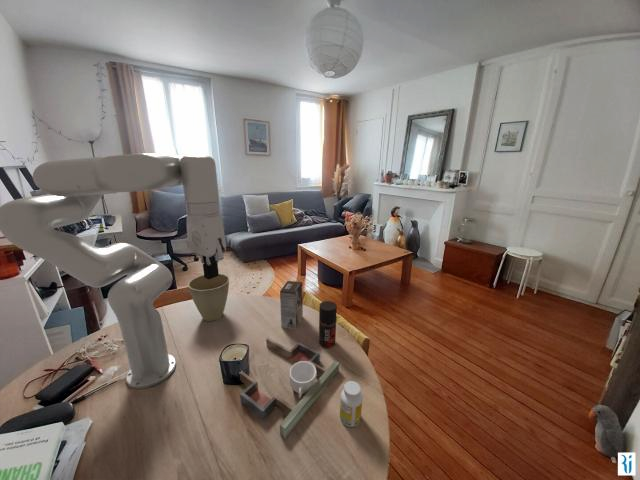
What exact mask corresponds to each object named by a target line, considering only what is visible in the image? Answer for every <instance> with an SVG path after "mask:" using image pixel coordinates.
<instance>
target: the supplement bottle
mask: <svg viewBox="0 0 640 480" xmlns="http://www.w3.org/2000/svg"><path fill="white" fill-rule="evenodd" d="M361 391H362V390H361V385H360V384H359V383H358V382H356V381H355V380H350V381H349V380H348V381H347V382H346V383H344V385H343V389H342V391H341V393H340V402H339V403H340V404H339V405H340V406H339V419H340V422H341V423H342V424H343V425H344V426H347V427H348V428H350V427H351V428H352V427H354V428H355V427H356V426H358V425H359V423H360V422H361V418H362V408H363V394H362V392H361Z"/></svg>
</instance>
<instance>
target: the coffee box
mask: <svg viewBox="0 0 640 480" xmlns="http://www.w3.org/2000/svg"><path fill="white" fill-rule="evenodd" d="M279 297H280V301H279V302H280V303H279V304H280V323H281V325H280V327H281V328H283V329H290V330H297V329H298V328H299V325H300V322H301V321H302V318H303V315H304V314H303V312H304V311H303V309H304V307H303V306H304V305H303V303H304V302H303V282H302V281H296V280H295V281H294V280H293V281H291V280H287V281H286V282H285V284H284V285H283V287H282V288H281V289H280V290H279Z"/></svg>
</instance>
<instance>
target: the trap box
mask: <svg viewBox="0 0 640 480" xmlns="http://www.w3.org/2000/svg"><path fill="white" fill-rule="evenodd" d="M265 341H266V347H267V348H269V349H271V350H272V351H274V352H276V353H278V354H280V355H281V356H283V357H285V358H286V359H288V360H290V361H291V362H293V363H294V364H295V363H297V362H300V361H307V362H310V363H312V364H313V365H314V366H315V368H316V371H317V375H316V376H317V377H319V379H318V380H316V383H315V384H314V385H313V387H312V388H311V389H310V390H309V391H308V392H307V393H305V394H304V396H303V397H301V398H300V400H299V402H298V403H297V404H296V405H295V406H293V405H292V404H291V403H289V402H287V401H286V400H284V399H283V398H281V397H280V396H279V395H277V394H274V396H273V397H272V398H270V397H269V396H267V395H266V394H265V393H263V392H262V391H261V390H259V386H258V385H259V384H258V383H259V382H258V381H257V380H256V379H254V378H252V377H251V376H250V375H249V374H247V373H245V372H244V371H243V370H241V372H239V375H240V380H241V381H240V380H239V381H240V382H241V383H243V384H244V385H245V386H247V387H246V388H245V389H243V391H242V392H241V393H239V398H240V403H241V405H243V406H244V407H246V408H247V409H248V410H249V411H250V412H252V413H253V414H255V416H257V417H258V418H259V419H261V420H262V421H266V419H267V418H268V417H269V416H270V415H271V414H272V412H274V410H275V409H276V408H277V409H278V410H279V411H280V412H281V413H283V414H285V415H286V417H285V418H284V419H283V420H282V421H281V423H280V424H279V434H280V436H282V437H283V438H284V439H286V438H287V437H288V436H289V434H290V433H291V431H293V429H294V428H295V426H296V425H297V424H298V423H299V421H301V419H302V418H303V417H304V415H305V414H306V413H307V412H308V410H309V409H310V408H311V407H312V405H313V404H314V402H315V401H316V400H317V399H318V397H319V396H320V395H321V394H322V392H323V391H324V390H325V389H326V387H327V386H328V385H329V384H330V382H331V381H333V379H334V378H335V376H336V375H338V372H339V371H340V362H339V361H336V360H334V361H333V362H331V364H330V366H329V367H328V368H327V369H326V368H324V367H323V366H320V365H318V363H319V362H320V361H321V353H320V352H319V351H316V350H314V349H313V348H311V347H308V346H307V345H306V344H303V343H301V342H297V344H295V345H294V346H293V347H292V348H291V349H289V348H288V347H285V346H284V345H282V344H280V343H278V342H276V341H275V340H273V339H271V338H270V337H267V338H266V339H265Z"/></svg>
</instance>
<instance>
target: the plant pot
mask: <svg viewBox="0 0 640 480" xmlns="http://www.w3.org/2000/svg"><path fill="white" fill-rule="evenodd" d="M187 285H188V288H189V289H188V290H189V293H190V295H191V297H192V300H193V302H194V305H195V308H196V309H197V311H198V312H199V314H200V316H201V317H202V319H203V320H205V321H206V322H215V321H216V320H219V319H221V318H222V316H224V315H223V314H224V312H225V308H226V304H227V300H228V295H229V287H230V286H229V285H230V277H229V276H228V275H226V274H224V273H219V275H218V276H217V277H214V278H212V279H207V278H205V277H204V274H203V275H199V276H196V277H194V278H193V279H191V280H189V282H188V283H187Z"/></svg>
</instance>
